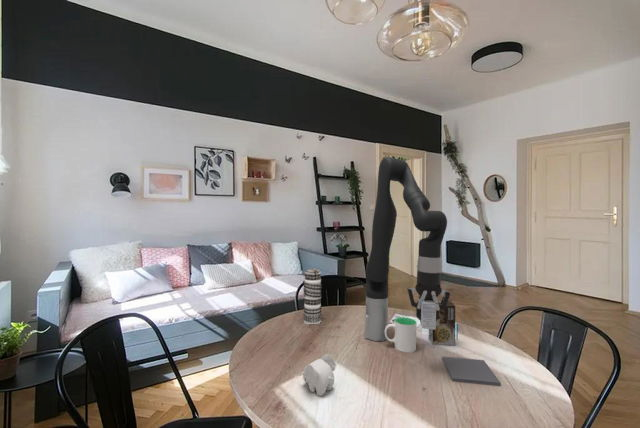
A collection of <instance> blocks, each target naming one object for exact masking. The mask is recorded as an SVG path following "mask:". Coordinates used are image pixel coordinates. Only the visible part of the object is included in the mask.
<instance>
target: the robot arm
mask: <svg viewBox="0 0 640 428" xmlns="http://www.w3.org/2000/svg"><path fill="white" fill-rule="evenodd" d="M377 172H378V174H377V190H376V191H377V192H376V200H375V207H374V213H373V219H372V227H371V249H370V255H369V258H368V262H367V263H366V267H365V332H364V333H365V335H364V338H365V339H367V340H370V341H375V342H383V341H386V340H387V338H386V337H385V328H386V326H387V325H388V324H389V272H390V270H389V269H390V268H389V267H390V265H389V264H390V263H389V262H390V250H391V245H392V241H393V237H394V233H395V229H396V223H397V218H398V217H397V215H398V214H397V209H396V205H395V203H394V201H393V198H392V195H391V182H398V183H399V184H401V186H402V187H403V189H402V198H403V201H404V202H405V204H406V205H407V208H408V209H409V210H410V213H411V216H412V222H413V224H414V227H415V229H417V230H418V231H419V232H420V231H421V232H424V233H425V232H429V234H428V236H427V237H424V238H422V239H419V242H418V256H417V265H416V268H417V269H416V285H415V286H414V287H407V289H406V290H407V293H408V299H409V301H410V305H411V307H413V308H416V311H415V316H416V318H417V319H418V321H420V320H421V303H422V301H424V300H432V301H434V302H435V303H436V321H437V320H438V319H439V310H440V309H445V308H446V305H447V302H448V301H449V299H450V296H451V292H450V291H449V290H447V289H446V290H445V289H442V287H441V278H442V277H441V275H442V261H441V257H442V256H441V253H442V252H441V251H442V242H443V240H444V236H445V233H446V230H447V227H448V219H447V216H446V214H445V213H444V212H443V211H441V210H430V207H431V203H430V201H429V199H428V198H427V196H426V194H424V191H422V190H421V189H420V187H419V185H418V183H417V181H416V178H415V176H414V175H413V173H412V170H411V167H410V166H409V164H408V163H407V161H405V160H404V159H401V158H396V157H391V156H384V157H383V158H382V159H381V161H380V163H379V166H378V171H377ZM415 292H416V293H417V295H418V298H417V301H415V298H414V295H415ZM440 295H441V296H442V299H441V300H440V301H441V304H439V305H438V301H439V300H438V297H439V296H440ZM388 330H389V328H388V329H387V331H386V334H387V337H388V338H389V336H388V335H389V333H388V332H389V331H388Z"/></svg>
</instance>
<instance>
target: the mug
mask: <svg viewBox="0 0 640 428" xmlns="http://www.w3.org/2000/svg"><path fill="white" fill-rule="evenodd" d="M390 327H392V328H393V329H394V336H393V338H389V336H388V337H387V334H386V331H387V329H388V330H389V328H390ZM385 337H386V338H387V339H386V340H387V341H388V342H391V343H394V348H395V349H396V350H397V351H398V352H399V351H400V352H403V353H413V352H415V351H417V320H415V319H413V318H410V317H405V316H403V317H396V318H395V319H394V323H388V325H387V326H386V328H385Z"/></svg>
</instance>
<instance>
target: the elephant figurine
mask: <svg viewBox="0 0 640 428" xmlns="http://www.w3.org/2000/svg"><path fill="white" fill-rule="evenodd" d="M336 368H337V364H336V362H335V360H334V358H333V357H332V356H331V355H330V354H328V353H326V354H323V355H322V356H321V358H318V359H316V360H314V361H312V362H311V363H309V364H307V365H305V367H304V371H303V372H302V373H299V374H298V376H299V377H300V376H302V378H303V379H302V380H303V381H304V383H306V384H308V387H309V388H308V389H309V392H312V393H315V392H316V395H317V396H318V397H322V396H324V395H325V393H326V391H330V390H332V389H333V387H334V384H335V374H334V371H335V370H336Z"/></svg>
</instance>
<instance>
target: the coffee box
mask: <svg viewBox="0 0 640 428" xmlns="http://www.w3.org/2000/svg"><path fill="white" fill-rule="evenodd" d="M437 301H438V305H439V304H441V301H442V300H437ZM427 336H428V340H429V342H430V344H431V345H434V346H456V305H455V304H454V303H453V302H452V300H448V302H447V305H446V308H445V309H440V310H439V319H438V320H437V321H436V329H435V330H433V329H428V335H427Z"/></svg>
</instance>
